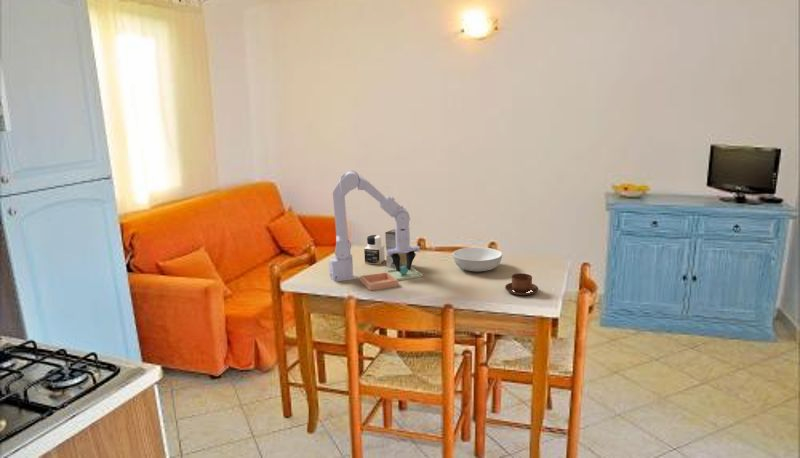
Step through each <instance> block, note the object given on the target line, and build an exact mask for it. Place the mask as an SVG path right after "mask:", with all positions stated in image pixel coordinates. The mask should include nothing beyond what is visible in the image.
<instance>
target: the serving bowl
mask: <svg viewBox="0 0 800 458" xmlns="http://www.w3.org/2000/svg"><path fill="white" fill-rule="evenodd" d="M502 258H503V253H502V251H500V250H498V249H495V248H489V247H483V246H482V247H481V246H480V247H479V246H478V247H477V246H475V247H472V246H471V247H464V248H459V249H456V250H454V251H452V259H453V261H454V263H455V265H456V266H458V267H459V268H460V269H463V270H464V271H470V272H475V273H479V272H480V273H481V272H486V271H491V270H493V269H495V268H497V267H498V266H499V264H500V263H501V261H502Z"/></svg>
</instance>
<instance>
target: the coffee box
mask: <svg viewBox="0 0 800 458" xmlns="http://www.w3.org/2000/svg"><path fill="white" fill-rule="evenodd" d="M394 248H396V233H395V228H394V229H391V230H389V231H385V251H386V250H390V249H394ZM398 255H399V257H400V267H401V266H406V267H407V258H406V253H402V254H398ZM385 256H386V255H385ZM385 259H386V267H387V268H390V269H391V268H392V269H396V267H395V264H394V261H393V259H392V257H391V255H390V256H386V258H385Z"/></svg>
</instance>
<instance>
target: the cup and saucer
mask: <svg viewBox="0 0 800 458" xmlns="http://www.w3.org/2000/svg"><path fill="white" fill-rule="evenodd" d="M504 288H505V291H507V292H508V293H511V294H514V295H517V296H531V295H533V294H535V293H537V292H538V290H539V287H538V286H537V285H536V284H534V283H533V276H532V275H531V274H528V273H514V274H512V275H511V282H508V283H506V285H505V286H504ZM512 290H514V291H515V292H513V291H512ZM530 290H532V291H533V292H530V293H526V292H528V291H530Z"/></svg>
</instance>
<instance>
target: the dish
mask: <svg viewBox="0 0 800 458" xmlns="http://www.w3.org/2000/svg"><path fill="white" fill-rule="evenodd" d="M359 277H360V278H359V279H360V283H361V284H362V285H363V286H364V287H366V288H367V289H368V291H375V290H382V289H388V288H394V287H398V286H399V281H398V280H397V279H396V278H394V277H393V276H392V275H391V274H389V273H388V272H385V271H384V272H378V273H371V274H366V275H365V274H364V275H360V276H359Z"/></svg>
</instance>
